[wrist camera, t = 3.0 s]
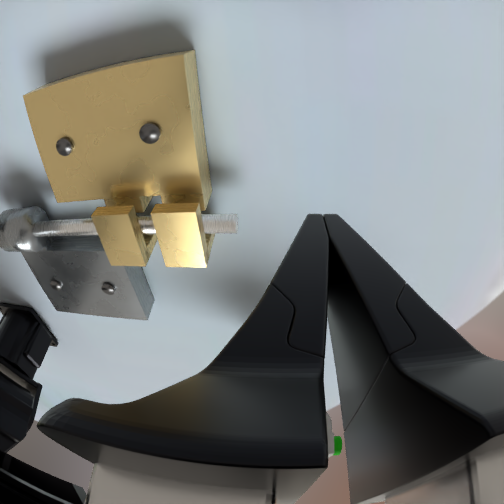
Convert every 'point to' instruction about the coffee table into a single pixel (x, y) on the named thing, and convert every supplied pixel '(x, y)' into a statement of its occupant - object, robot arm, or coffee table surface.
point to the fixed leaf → (85, 262)
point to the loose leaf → (130, 154)
